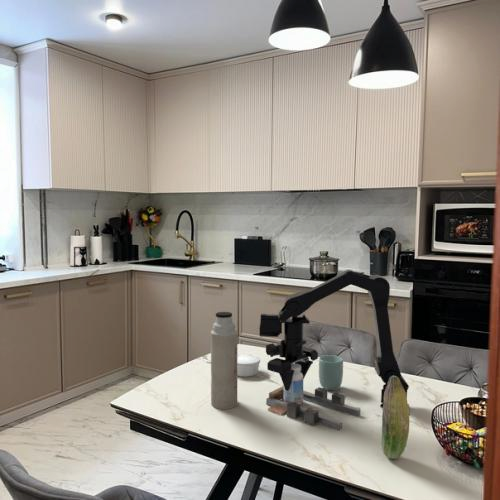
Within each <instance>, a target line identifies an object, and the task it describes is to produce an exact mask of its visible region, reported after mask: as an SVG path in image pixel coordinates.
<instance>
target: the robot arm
mask: <svg viewBox="0 0 500 500" xmlns="http://www.w3.org/2000/svg"><path fill="white" fill-rule="evenodd" d="M349 286H355V287H357V288H360V289H362V290H365V291H367V293H368V297H369V300H370V302H371V304H372V307H373V315H374V322H375V323H374V324H375V330H376V338H377V345H378V346H377V347H378V354H377V356H373V357H372V358H373V361H374V370H375V372H376V374H377V376H378V377H379V378H380V379H381V381H382V382H383V383H384V384H383V386H382V389H381V390H380V391H381V392H380V393H381V395H380V403H381V404H380V405H379V407H380V408H383V404H384V403H383V400H384V392H385V389H386V387H387V384H388V381H389V378H390V377H391V376H397V377H398V378H399V379H400V382H401V384H402V386H403V388H404V390H405V393H406V397H407V398H408V390H409V388H410V386H409V384H408V383H407V381H406V379H405V378H404V377H403V375H402V373H401V370H400V367H399V364H398V361H397V359H396V356H395V353H394V347H393V339H392V332H391V330H392V329H391V324H390V316H389V315H390V314H389V310H388V309H389V307H388V306H389V301H390V293H391V292H390V291H391V287H390V282H389V281H388V280H387V279H386V278H385V277H383V276H381V275H379V274H372V275H368V274H366V273H360V272H357V271H354V270H353V269H345V270H344V271H343V272H342V273H340V274H337V275H335V276H334V277H331V278H330V279H328V280H326V281H324V282H322V283H320V284H318V285H316V286H314V287H312V288H310V289H308V290H303V291H298V292H295V293H291V294H288V296H286V298H285V299H284V304H283V307H282V308H281V309H280V310H279V312H278V314H269V313H268V314H267V313H261V314H260V321H259V322H260V323H259V337H261V338H262V337H265V338H266V337H271V338H272V337H273V338H278V337H279V336H280V335H281V334H282V333H283V332H284V333H283V336H284V337H283V339H281V340H280V343H275V344H274V343H273V342H272V343H268V344H266V345H265V353H266V355H267V356H270V358H273V359H271V360H269V361H268V362H267V368H266V369H267V370H268V371H270V372H273V373H277V374H279V376H280V379H281V381H282V386H283V385H284V388H285V390H287V391H289V389H290V385H291V382H292V378H293V374H294V370H291V364H293V363H295V364H299V365H301V371H300V372H301V373H302V374H303V380H304V379H305V377H306V375H307V373H308V372H309V369H310V368H311V366H312V365H313V363H314V361H316V360H319V353H318V351H317V349H314V348H312V347H311V348H310V347H306V346H304V345H306V344H307V340H306V339H304V324H306V325H307V324H308V325H309V324H310V318H308V317H307V316H306V314H305V312H306V311H307V310H309V309H310V308H311V307H312V306H313V305H314V304H316V303H317V302H319V301H321V300H323V299H325V298H327V297H329V296H332V295H333V294H335V293H336V292H339V291H341V290H343V289H346V287H349ZM283 324H284V326H283ZM276 356H278V357H276ZM274 357H276V358H274ZM283 358H284V359H283ZM409 406H410V405H409V403H408V407H409Z"/></svg>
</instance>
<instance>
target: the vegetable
mask: <svg viewBox="0 0 500 500" xmlns="http://www.w3.org/2000/svg"><path fill="white" fill-rule="evenodd" d="M383 403H384V404H383V407H382V417H381V418H382V419H381V425H382V426H381V427H382V428H381V430H382V431H381V432H382V433H381V449H382V452H383V454H384V455H385V456H386V457H387V458H388V459H391V460H392V459H393V460H394V459H396V460H397V459H398V458H400V457H401V456H402V455H403V453H404V452H405V448H406V446H407V442H408V438H409V432H410V411H409V410H410V409H409V406H408V404H409V403H408V396H407V397H406V393H405V390H404V388H403V386H402V384H401V382H400V379H399V378H398V377H397V376H391V377H390V378H389V381H388V384H387V387H386V389H385V392H384V400H383Z"/></svg>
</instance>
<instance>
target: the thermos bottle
mask: <svg viewBox="0 0 500 500" xmlns="http://www.w3.org/2000/svg"><path fill="white" fill-rule="evenodd" d="M215 317H216V318H215V322H214V323H213V324H212V330H210V373H211V374H210V377H211V379H210V380H211V381H210V383H211V384H210V405H211V406H212V407H213V408H215V409H220V410H228V409H229V410H230V409H232V408H235V407H236V406H237V405H238V376H237V355H238V330H237V329H236V324H235V322H233V313H232V312H230V311H218V312H215Z"/></svg>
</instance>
